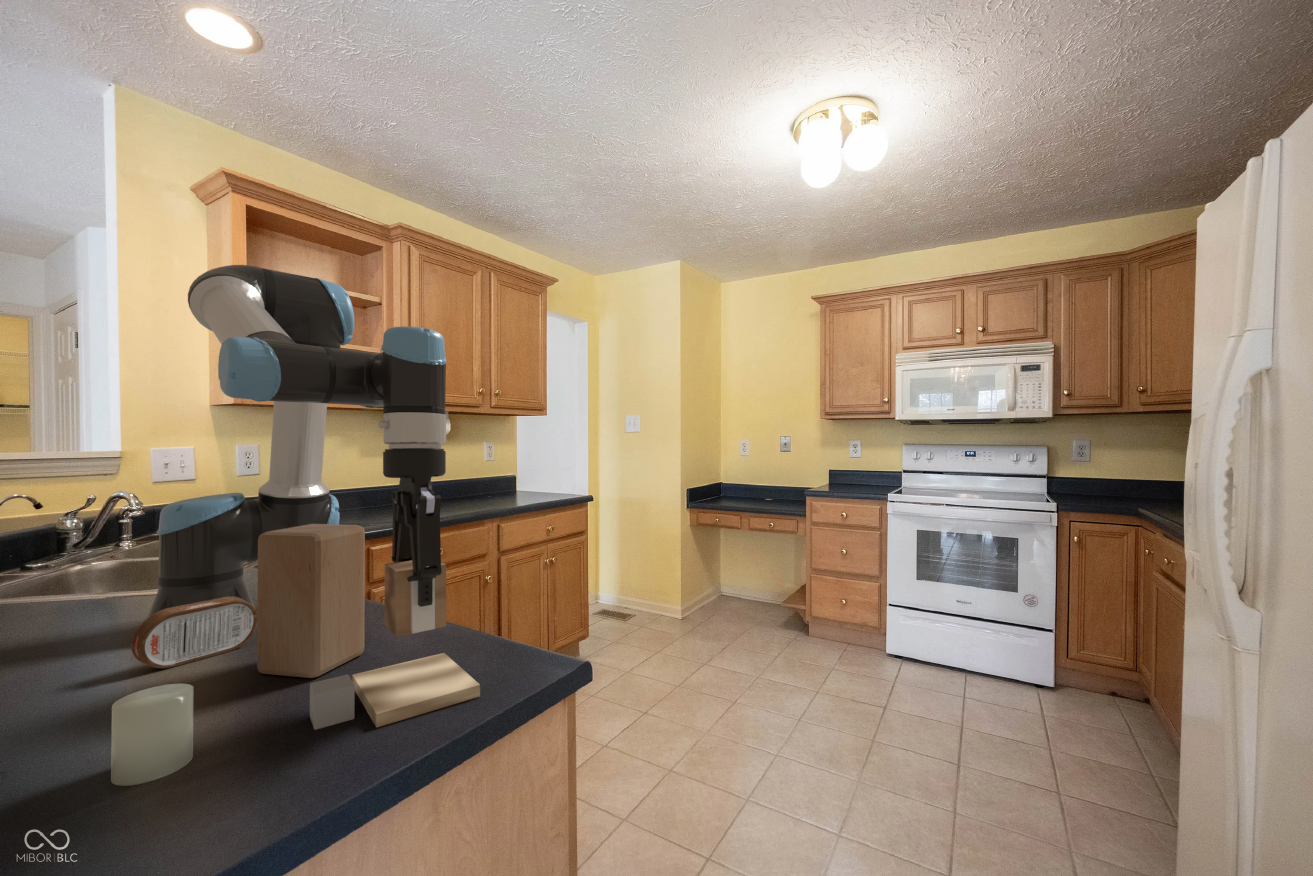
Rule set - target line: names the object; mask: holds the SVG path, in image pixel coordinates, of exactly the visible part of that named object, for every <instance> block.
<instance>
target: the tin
mask: <svg viewBox="0 0 1313 876" xmlns="http://www.w3.org/2000/svg"><path fill="white" fill-rule="evenodd" d="M254 606H255V605H254ZM254 606H253V605H251V604H250V603H248V602H246V601H245V600H243V599H241V598H238V597H223V598H218V599H213V600H208V601H203V602H198V603H193V604H187V605H182V606H177V607H171V608H167V609H164V610H161V611H159V612H157V613H155V614H153V615H151V616H150V617H148V618H147V617H146V618H147V619H144V621H143V622H142V623H140V625H139V626H138V627H137V628H136V629H135V631H134V633H133V636H132V639H131V643H130V646H131V647H130V649H131V653H132V655H133V656H134V658H135V659H136V660H137V661H138V662H139V663H142V664H143V665H144V664H145V665H147V666H148V667H152V668H153V669H154V668H156V669H171V668H174V667H179V666H182V665H186V664H189V663H192V662H196V661H200V660H204V659H207V658H211V657H215V656H218V655H219V656H220V655H222V654H226V653H230V652H233V651H236V650H237V649H239V648H240V647H242V646H243V645H245V644H246V643H247V642H249V640H250V639H251V638H252V636H253V635H254V634H255V631H257V630H256V629H257V621H258V610H257V609H256V607H255V608H254Z"/></svg>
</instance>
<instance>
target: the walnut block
mask: <svg viewBox="0 0 1313 876" xmlns="http://www.w3.org/2000/svg"><path fill="white" fill-rule="evenodd" d="M427 567H429V566H427ZM441 570H442V571H441V575H437V576H436V578H435V629H434V630H436V629H440V628H445V627H447V564H446V563H444V562H442V561H441ZM409 576H413V564H412V560H410V561H402V562H388V563H384V626H385V628H387V629H388V630H389V631H390V632H391V633H392V634H393V635H394V636H395V637H396V638H397V637H398V638H399V637H402V636H407V635H412V633H411V582H408V580H407V577H409Z"/></svg>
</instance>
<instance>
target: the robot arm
mask: <svg viewBox="0 0 1313 876" xmlns="http://www.w3.org/2000/svg"><path fill="white" fill-rule="evenodd" d="M187 304H188V307H189V309H190V312H191V313H192V315H193V317H194V318H195V319H196V320H197V322H198V323H199V324H200V325H202V326H203V327H204V328H206V329H207V330H209V331H211V332H213V334H214V335H215V337H216V338H217V340H218V342H219V343H220V344H221V346H220V349H219V354H218V363H217V365H218V366H217V369H218V371H217V372H218V373H217V374H218V376H217V377H218V380H219V387H220V390H221V391H222V393H223V394H224V395H226V397H229V398H233V399H239V400H240V399H242V400H251V401H255V402H258V403H259V402H260V403H261V402H273V412H272V427H271V429H272V430H271V441H270V444H271V445H270V459H269V474H268V475H269V476H268V480H267V481H266V482H265V483H264V484H262V485H261V486H260V487H259V489H258V496H257V498H253V499H246V496H245V495H244V493H242V492H228V493H223V494H222V493H219V494H218V493H217V494H210V495H205V496H204V495H203V496H197V497H192V498H188V499H183V500H178V501H174V502H171V503H169V504H166V505H165V506H164V507H162V509H161V510H160V513H159V522H158V529H157V531H156V533H157V535H158V571H157V572H158V573H157V575H158V580H157V583H158V586H157V592H156V594H155V597H154V599H153V601H152V604H151V606H150V609H149V611H148V614H147V616H146V619H147V618H148V617H150V616H151V615H153V614H155V613H157V612H159V611H161V610H164V609H167V608H171V607H177V606H182V605H187V604H193V603H198V602H203V601H208V600H213V599H218V598H223V597H238V598H241V599H243V600H245V601H246V602H248V603H250V604H251V605H253V606H254V608H255V609H256V607H255V604H254V602H253V599H252V597H251V594H250V592H249V590H248V587H247V585H246V582H245V578H244V567H245V566H244V565H245V563H246V564H247V563H253V562H258V538H259V536H260V535H261V534H263V533H265V532H268V531H274V530H280V529H286V528H291V527H297V526H303V525H309V524H338V525H340V512H339V510H340V505H339V501H338V499H337V497H336V496H335V495H333V494H331V493H330V487H329V486H328V485H327V484H326V483H324V482H323V480H322V477H323V465H324V450H325V440H326V439H325V437H326V424H327V423H326V421H327V409H328V404H329V405H345V406H347V405H348V406H360V407H363V408H368V409H374V408H375V409H382V413H383V420H379V422H378V427H379V428H380V429H383V443H384V445H388V448H385V449H384V451H382V474H383V476H384V477H385V478H389V479H391V478H392V479H399V484H398V490H393V491H392V492H391V501H392V540H391V541H392V542H391V544H392V545H391V549H392V550H391V560H392V561H391V562H392V563H394V562H402V561H410V560H412V564H413V576H409V577H407V580H408V582H411V633H412V634H417V633H421V632H426V631H432V630H436V629H435V578H436V576H437V575H441V571H442V570H441V562H442V551H441V550H442V548H441V544H442V543H441V506H442V496H441V495H440V494H439V495H438V494H437V495H436V493H435V491H434V490H433V485H432V478H435V477H437V478H439V477H443V476H444V475H445V474H446V470H447V469H446V468H447V467H446V460H447V459H446V455H447V454H446V452H447V451H446V450H445V449H444V448H442V445H445V444H446V443H447V414H446V386H447V385H446V384H447V383H446V377H447V375H446V371H447V362H448V361H447V358H446V349H445V348H446V347H445V338H444V336H443V335H442V334H441V333H440V332H438V331H436V330H435V329H434V330H433V329H429V328H426V327H425V328H424V327H420V326H393V327H389V328H387V329H386V330H385V331H384V333H383V339H382V345H381V351H382V352H369V351H359V350H353V349H343V348H341V346H347V345H349V344H350V343H351V342H352V339H353V334H354V333H355V313H354V307H353V303H352V299H351V298H350V296H349V294H348V292H347V291H346V289H345V288H344V287H343V286H342V285H340V284H339V283H334V282H332V281H327V280H324V279H320V278H318V277H310V276H305V275H299V274H295V273H291V272H284V271H279V270H274V269H269V268H265V267H264V268H263V267H260V266H256V265H248V264H231V265H223V266H219V267H215V268H212V269H210V270H207V271H205V272H203V273H201V274H200V275H199V276H197V277H196V278H195V279H194V280H193V282H192V283H191V285H190V286H189V288H188V293H187ZM427 566H429V567H427ZM146 619H145V620H146ZM412 634H411V635H412Z"/></svg>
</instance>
